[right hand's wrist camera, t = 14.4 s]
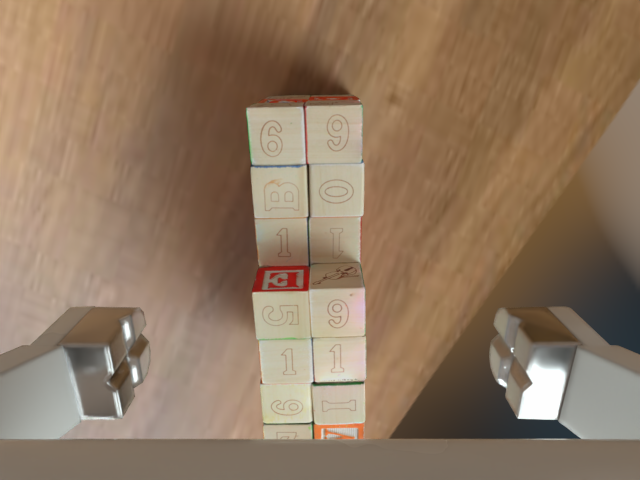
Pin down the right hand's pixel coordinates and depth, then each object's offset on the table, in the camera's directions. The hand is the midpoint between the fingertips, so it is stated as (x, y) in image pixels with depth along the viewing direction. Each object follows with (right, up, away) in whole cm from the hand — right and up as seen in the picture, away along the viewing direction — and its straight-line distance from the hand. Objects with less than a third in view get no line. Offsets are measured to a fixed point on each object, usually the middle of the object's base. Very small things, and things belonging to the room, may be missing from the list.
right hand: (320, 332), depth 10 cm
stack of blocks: (0, +2, +25) cm, 25 cm away
